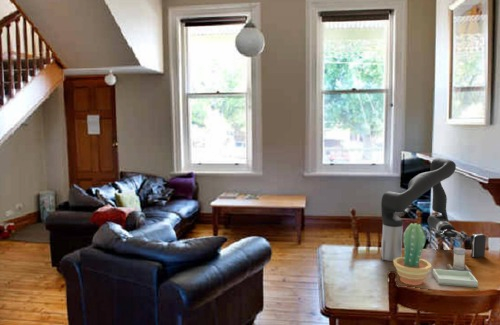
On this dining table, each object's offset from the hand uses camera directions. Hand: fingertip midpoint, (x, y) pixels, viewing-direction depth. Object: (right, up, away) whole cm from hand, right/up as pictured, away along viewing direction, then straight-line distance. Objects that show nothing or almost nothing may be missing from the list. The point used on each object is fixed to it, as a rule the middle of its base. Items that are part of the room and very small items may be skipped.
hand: (453, 239), depth 196 cm
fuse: (-3, -12, -10) cm, 16 cm away
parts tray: (-10, -14, -21) cm, 27 cm away
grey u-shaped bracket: (-3, -12, -10) cm, 16 cm away
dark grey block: (+16, -10, +9) cm, 21 cm away
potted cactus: (-29, -14, -21) cm, 38 cm away
